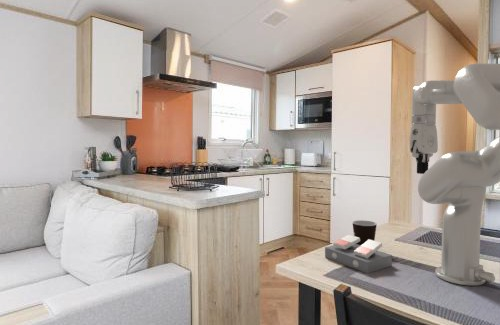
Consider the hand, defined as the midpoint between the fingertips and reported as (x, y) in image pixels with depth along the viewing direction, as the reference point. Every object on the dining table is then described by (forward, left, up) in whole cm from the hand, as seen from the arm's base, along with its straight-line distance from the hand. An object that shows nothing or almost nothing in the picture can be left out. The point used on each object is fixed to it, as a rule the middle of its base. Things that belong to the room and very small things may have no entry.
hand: (422, 173), depth 120 cm
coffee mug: (+16, +10, -29) cm, 35 cm away
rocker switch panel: (+8, +24, -29) cm, 39 cm away
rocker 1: (+12, +24, -24) cm, 36 cm away
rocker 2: (+3, +24, -24) cm, 34 cm away
